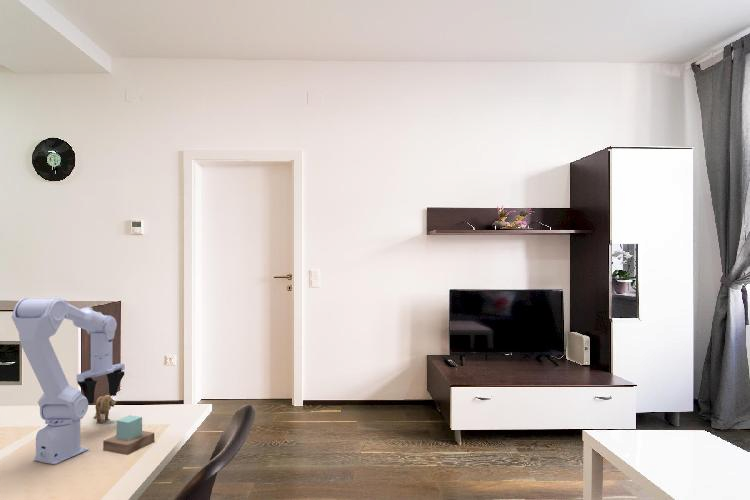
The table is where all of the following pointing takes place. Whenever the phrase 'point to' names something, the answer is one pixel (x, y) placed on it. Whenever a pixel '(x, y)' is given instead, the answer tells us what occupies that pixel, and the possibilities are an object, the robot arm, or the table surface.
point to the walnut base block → (128, 443)
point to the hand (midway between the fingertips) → (101, 399)
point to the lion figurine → (103, 407)
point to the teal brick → (129, 427)
